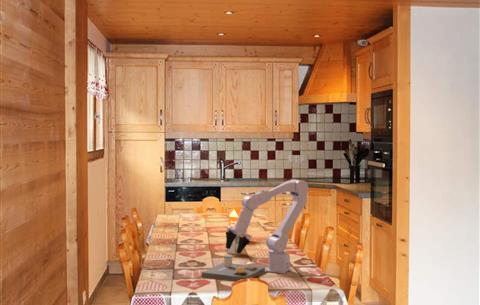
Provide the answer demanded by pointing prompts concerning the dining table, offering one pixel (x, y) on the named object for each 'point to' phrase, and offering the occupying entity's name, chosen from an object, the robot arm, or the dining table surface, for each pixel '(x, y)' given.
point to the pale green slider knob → (228, 261)
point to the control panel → (231, 272)
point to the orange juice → (235, 216)
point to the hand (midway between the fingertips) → (232, 250)
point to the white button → (250, 266)
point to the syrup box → (234, 243)
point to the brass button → (240, 270)
